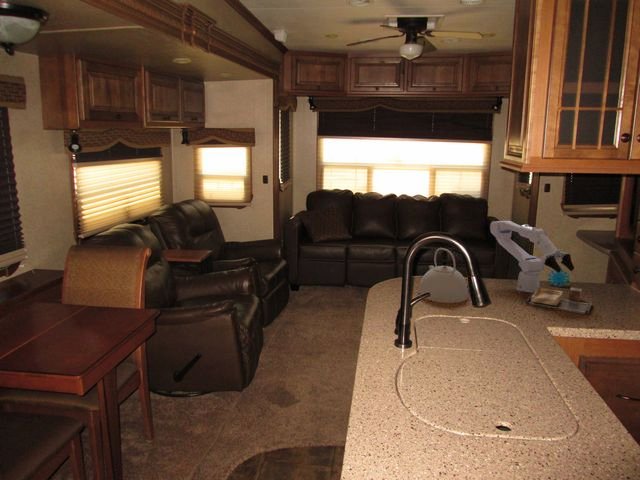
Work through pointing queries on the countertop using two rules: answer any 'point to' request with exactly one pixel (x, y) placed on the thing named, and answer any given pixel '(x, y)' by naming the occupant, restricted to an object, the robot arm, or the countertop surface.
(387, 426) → the countertop surface
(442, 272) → the kettle
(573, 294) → the part block
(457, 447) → the countertop surface
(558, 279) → the gear
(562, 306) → the rail base
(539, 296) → the shallow wooden tray
